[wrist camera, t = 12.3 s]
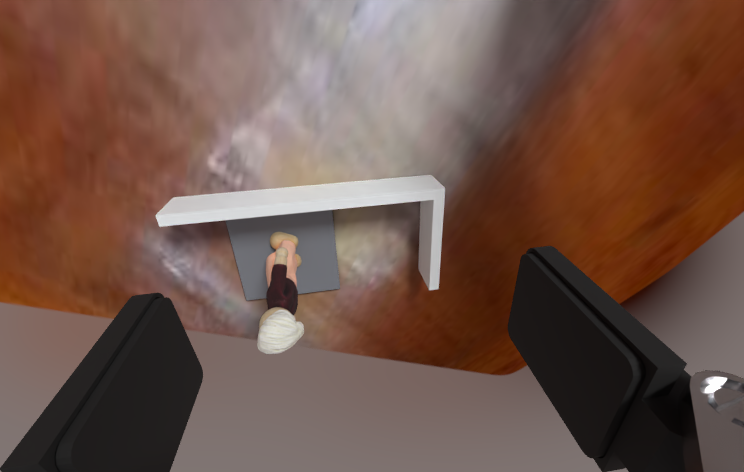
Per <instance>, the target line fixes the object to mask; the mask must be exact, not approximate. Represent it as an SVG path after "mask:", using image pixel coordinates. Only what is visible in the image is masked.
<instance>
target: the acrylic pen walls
mask: <svg viewBox="0 0 744 472" xmlns="http://www.w3.org/2000/svg"><path fill="white" fill-rule="evenodd" d="M444 199H445V187H444V186H442V185H441V184H440V183H439V182H438V181H437V180H436V179H435V178H434V177H433V176H432V175H421V176H410V177H399V178H387V179H376V180H365V181H353V182H342V183H331V184H319V185H308V186H297V187H286V188H274V189H263V190H252V191H240V192H229V193H218V194H206V195H195V196H184V197H173V198H172V199H171V200H170V201H169V202H168V203H167V204H166V205H165V206H164V207H163V208H162V209H161V210H160V211H159V212H158V213H157V214H156V215H155V216H156V218H157V221H158V224H159V226H160V227H161V226H171V225H181V224H192V223H202V222H212V221H222V220H232V219H243V218H253V217H263V216H273V215H283V214H294V213H304V212H314V211H324V210H334V209H345V208H355V207H365V206H375V205H385V204H396V203H406V202H416V201H420V232H419V264H418V270H419V272H420V274H421V275H422V277H423V279H424V281H425V283H426V285H427V287H428V289H429V290H436V289H439V275H440V260H441V244H442V229H443V214H444Z"/></svg>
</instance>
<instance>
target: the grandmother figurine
mask: <svg viewBox="0 0 744 472" xmlns="http://www.w3.org/2000/svg"><path fill="white" fill-rule="evenodd" d="M270 244H271V246H272V247H273V248H274V249H275V250H276V251H275V252H274V253H272V254H270V255H269V256H268V257H267V260H266V277H267V283H268V290H267V293H266V299H267V304H268V310H267V311H266V312H265V313H264V314H263V315H262V317H261V319H260V322H259V333H258V342H257V346H258V349H259V350H260V351H261V352H264V353H266V354H277V353H281V352H284V351H286V350H288V349H289V348H290V347H292V346H293V345H294V344H295V343H296V342H297V340H298V339H300V338H301V337H302V335H303V334H304V325H303V324H302V323H301V322H296V320H295V316H294V314H295V312H296V309H297V305H298V303H297V302H298V291H297V279H296V275H295V274H296V270H297V267H299V266H300V265H301V262H302V260H301V257H300V256H299V255H298V254H295V251H296V247H297V246H298V238H297V237H296V236H294V235H291V234H287V233H284V232H275V233H273V234H272V235H271V237H270Z"/></svg>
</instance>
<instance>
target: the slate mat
mask: <svg viewBox="0 0 744 472" xmlns="http://www.w3.org/2000/svg"><path fill="white" fill-rule="evenodd" d="M225 221H226V225H227V229H228V232H229V236H230V240H231V244H232V247H233V251H234V255H235V259H236V263H237V266H238V270H239V274H240V278H241V282H242V285H243V289H244V293H245V297H246V300H255V299H263V298H266V293H267V290H268V283H267V277H266V260H267V257H268V256H269V255H270V254H272V253H274V252H275V251H276V250H275V249H274V248H273V247H272V246H271V244H270V237H271V235H272V234H273V233H275V232H284V233H287V234H291V235H294V236H296V237H297V238H298V246H297V247H296V251H295V254H298V255H299V256H300V257H301V260H302V262H301V265H300V266H299V267H297V270H296V274H295V275H296V279H297V291H298V294H302V293H310V292H318V291H326V290H334V289H340V283H339V273H338V263H337V253H336V243H335V233H334V223H333V213H332V210H324V211H314V212H304V213H294V214H283V215H273V216H263V217H253V218H243V219H232V220H225Z"/></svg>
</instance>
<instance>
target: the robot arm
mask: <svg viewBox="0 0 744 472" xmlns="http://www.w3.org/2000/svg"><path fill="white" fill-rule="evenodd" d="M508 332H509V336H510V338H511V340H512V341H513V343H514V344H515V346H516V348H517V349H518V351H519V352H520V354H521V355H522V357H523V359H524V360H525V362H526V363H527V365H528V366H529V368H530V369H531V371H532V373H533V374H534V376H535V377H536V379H537V381H538V382H539V384H540V385H541V387H542V388H543V390H544V392H545V393H546V395H547V396H548V398H549V399H550V401H551V402H552V404H553V406H554V407H555V409H556V410H557V412H558V413H559V415H560V417H561V418H562V420H563V421H564V423H565V424H566V426H567V428H568V429H569V431H570V432H571V434H572V435H573V437H574V439H575V440H576V442H577V443H578V445H579V446H580V448H581V449H582V451H583V452H584V453H585V454H586V455H587V456H588V457H590V458H593V459H594V460H595V462H596V463H597V465H598V466H599V468H600V469H601V471H602V472H607V471H613V470H618V469H623V468H627V470H628V471H629V472H744V378H741V377H738V376H736V375H733V374H729V373H725V372H720V371H710V370H705V371H701V372H697V373H695V374H694V375H693V376H692V377H691V376H690V375H689V374H688V373H687V372H686V371H684V368H685V366H686V364H687V363H686V362H684V361H683V360H682V359H681V358H680V357H679V356H677V355H676V354H675V353H674V352H673V351H672V350H671V349H670V348H668V347H667V346H666V345H665V344H664V343H663V342H662V341H660V340H659V339H658V338H657V337H656V336H655V335H654V334H652V333H651V332H650V331H649V330H648V329H647V328H646V327H645V326H643V325H642V324H641V323H640V322H639V321H638V320H637V319H635V318H634V317H633V316H632V315H631V314H630V313H628V312H627V311H626V310H625V309H624V308H623V307H622V306H621V305H619V304H618V303H617V302H616V301H615V300H614V299H613V298H611V297H610V296H609V295H608V294H607V293H606V292H605V291H603V290H602V289H601V288H600V287H599V286H598V285H597V284H595V283H594V282H593V281H592V280H591V279H590V278H589V277H587V276H586V275H585V274H584V273H583V272H582V271H581V270H579V269H578V268H577V267H576V266H575V265H574V264H573V263H572V262H570V261H569V260H568V259H567V258H566V257H565V256H564V255H562V254H561V253H560V252H559V251H558V250H557V249H556V248H554V247H552V246H545V247H537V248H530V249H528V251H527V252H526V254H524V255H522V257H521V260H520V265H519V270H518V276H517V281H516V286H515V291H514V296H513V302H512V307H511V312H510V317H509V322H508ZM202 378H203V371H202V367H201V365H200V363H199V361H198V358H197V356H196V354H195V352H194V349H193V347H192V345H191V343H190V341H189V338H188V336H187V334H186V332H185V330H184V327H183V325H182V323H181V321H180V319H179V316H178V314H177V312H176V310H175V308H174V305H173V303H172V301H171V300H170V299H169V298H167V297H166V298H164V296H163V295H162V294H161V293H151V294H143V295H135V296H132V297H131V298H130V299H129V300H128V302H127V303H126V304H125V305H124V307H123V308H122V309H121V311H120V312H119V313H118V315H117V316H116V317H115V319H114V320H113V321H112V323H111V324H110V325H109V326H108V328H107V329H106V330H105V332H104V333H103V334H102V336H101V337H100V338H99V339H98V341H97V342H96V343H95V345H94V346H93V347H92V349H91V350H90V351H89V353H88V354H87V355H86V356H85V358H84V359H83V360H82V362H81V363H80V364H79V366H78V367H77V368H76V370H75V371H74V372H73V374H72V375H71V376H70V378H69V379H68V380H67V381H66V383H65V384H64V385H63V387H62V388H61V389H60V390H59V392H58V393H57V394H56V396H55V397H54V398H53V400H52V401H51V402H50V404H49V405H48V406H47V407H46V409H45V410H44V412H43V413H42V414H41V415H40V417H39V418H38V419H37V421H36V422H35V423H34V424H33V426H32V427H31V428H30V430H29V431H28V432H27V434H26V435H25V436H24V438H23V439H22V440H21V442H20V443H19V444H18V446H17V447H16V448H15V449H14V451H13V452H12V453H11V455H10V456H9V457H8V459H7V460H6V461H5V463H4V464H3V465H2V466H1V468H0V470H1V471H2V472H170V469H171V466H172V464H173V461H174V458H175V455H176V453H177V450H178V447H179V444H180V441H181V439H182V436H183V433H184V430H185V427H186V425H187V422H188V419H189V416H190V414H191V411H192V408H193V405H194V403H195V400H196V397H197V394H198V392H199V389H200V386H201V383H202Z"/></svg>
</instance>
